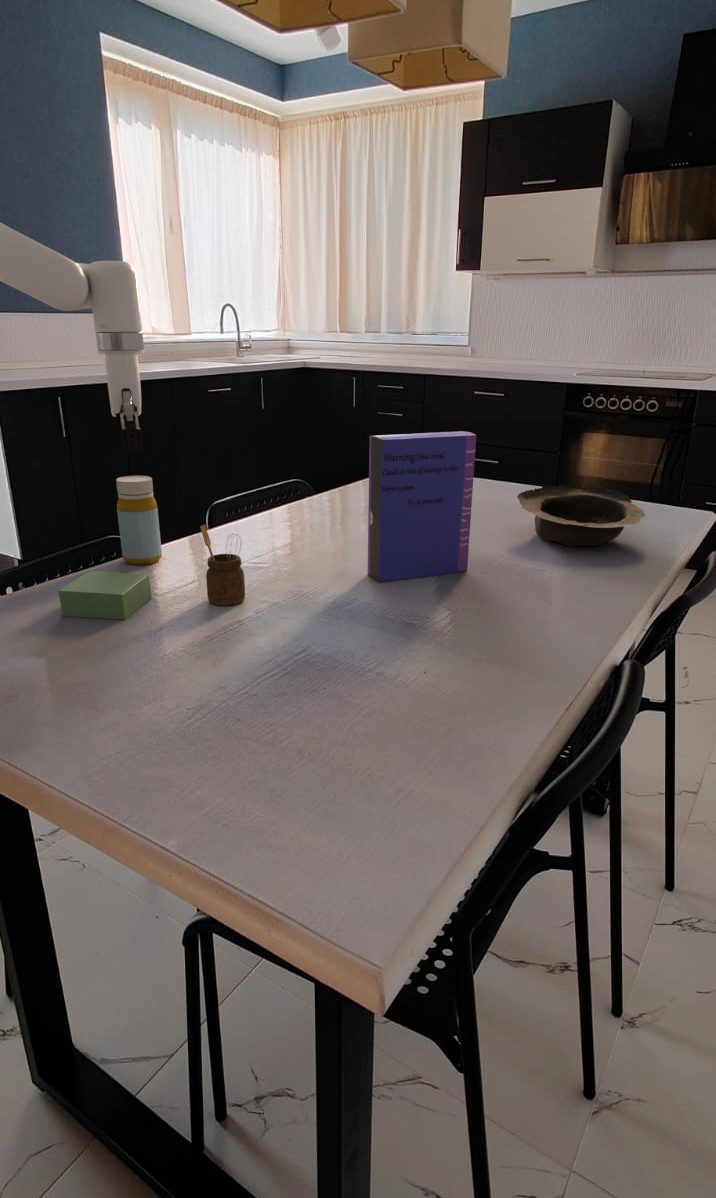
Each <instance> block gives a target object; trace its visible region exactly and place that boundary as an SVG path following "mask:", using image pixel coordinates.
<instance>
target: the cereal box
mask: <svg viewBox="0 0 716 1198" xmlns="http://www.w3.org/2000/svg"><path fill="white" fill-rule="evenodd" d="M368 444H369V449H368V451H369V452H368V454H369V455H368V513H367V515H368V517H367V520H368V521H367V532H368V533H367V576H368V577H369V578H371V579H373V580H374V581H376V582H377V583H378V584H380V583H387V582H395V581H404V580H412V579H419V578H428V577H435V576H444V575H450V574H459V573H466V572H468V563H469V549H470V535H471V521H472V519H471V518H472V508H473V507H472V505H473V491H474V490H473V489H474V478H475V477H474V475H475V462H476V448H477V447H476V446H477V434H475V433H473V432H470V431H462V430H461V431H441V432H440V431H439V432H422V433H421V432H420V433H419V432H418V433H401V434H400V433H399V434H379V435H369V443H368Z"/></svg>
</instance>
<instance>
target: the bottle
mask: <svg viewBox="0 0 716 1198" xmlns="http://www.w3.org/2000/svg"><path fill="white" fill-rule="evenodd" d="M115 483H116V490H117V497H118V498H117V503H116V512H117V521H118V530H119V537H120V546H121V555H122V559H123V561H124V562H125V563H126V564H128V565H133V566H145V565H152V564H155V563H158V562H159V561H161V558H162V556H163V555H162V542H161V531H160V521H159V512H158V511H159V509H158V503H157V500H156V499H155V497H154V491H153V490H154V485H153V484H154V483H153V478H152V477H151V476H147V475H127V476H120V477H118V478H116V482H115Z"/></svg>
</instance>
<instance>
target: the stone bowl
mask: <svg viewBox="0 0 716 1198" xmlns="http://www.w3.org/2000/svg"><path fill="white" fill-rule="evenodd" d="M516 498H517V500H518V501H519V504H520V505H521V509H523V510H525V511H526V512H527V513H530V514H533V515H535V516H534V528H535V534H536V535H537V537H539V538H541V539H543V540H544V541H549V542H550V541H551V542H552V541H555V542H557V543H560V544H563V545H565V546H568V547H571V548H575V547H579V546H580V547H599V546H602V545H603V544H604V543H608V542H610V541H612V540H615V539H617V538H618V537H619V536H620V535H621V533H622V532H623V531H624V528H625V527H628V526H632V525H633V526H634V525H637V524H639V523H640V522H641V519H642V518H645V517H646V515H645V511H644V510H643V509H642V508H641V507H639V506H638V505H636V504H634V503H632V502H633V501H632V499H630V497H629V495H627V494H624V493H622V492H621V491H619V490H617V489H609V488H604V489H602V490H601V489H599V490H590V491H588V490H585V489H579V488H576V487H572V486H569V485H565V486H564V484H563V483H562V484H560V485H550V484H544V485H543V486H542V487H539V488H534V489H528V490H524V491H521V492H519V494H517V496H516Z"/></svg>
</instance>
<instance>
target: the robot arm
mask: <svg viewBox="0 0 716 1198" xmlns="http://www.w3.org/2000/svg"><path fill="white" fill-rule="evenodd" d="M0 282H1V283H3V284H5V285H8V286H10V287H11V288H13V289H16V290H17V291H20V292H21V293H23V294H26V295H27V296H30V297H32V298H34V299H35V300H38V301H40V302H42V303H43V304H45V305H48V306H50V307H51V308H54V309H56V310H59V311H62V312H74V311H75V312H76V311H81V310H88V309H92V316H93V325H94V332H95V339H96V347H97V354H98V355H104V357H105V358H104V361H105V363H104V364H105V372H106V381H107V390H108V397H109V405H110V412H111V416H112V417H114V418H116V417H117V414H119V415H120V421H121V422H120V434H121V442H122V452H123V454H124V455H139V454H140V455H141V454H143V453H144V447H143V439H142V437H143V436H142V429H141V428H140V422H139V417H140V416H141V414H142V389H141V388H142V387H141V375H140V365H139V357H138V356H139V355H140V354H145V345H144V335H143V334H144V333H143V325H142V315H141V305H140V295H139V287H138V286H139V285H138V276H137V271H136V268H135V267H134V265H133V264H132V263H130V262H128V261H124V260H123V261H122V260H97V261H93V262H90V263H82V262H75V261H74V260H72V259H71V258H70V257H67V256H66V255H63V254H62V253H59V252H57V251H56V250H54V249H52V248H50V247H48V246H46V245H44V244H42V243H40V242H38V241H36V240H35V239H32V238H30V237H29V236H27V235H26V234H23V233H21V232H19V231H17V230H15V229H13V228H11V227H10V226H8V225H6V224H4V223H2V222H0Z"/></svg>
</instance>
